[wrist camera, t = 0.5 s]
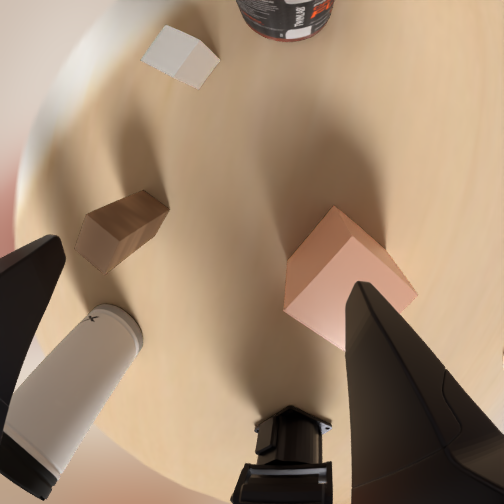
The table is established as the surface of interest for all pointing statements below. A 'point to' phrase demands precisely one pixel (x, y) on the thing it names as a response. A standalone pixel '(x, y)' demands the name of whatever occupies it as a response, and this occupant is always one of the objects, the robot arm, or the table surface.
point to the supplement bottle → (286, 17)
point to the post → (119, 229)
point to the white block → (181, 57)
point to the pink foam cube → (339, 275)
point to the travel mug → (66, 398)
